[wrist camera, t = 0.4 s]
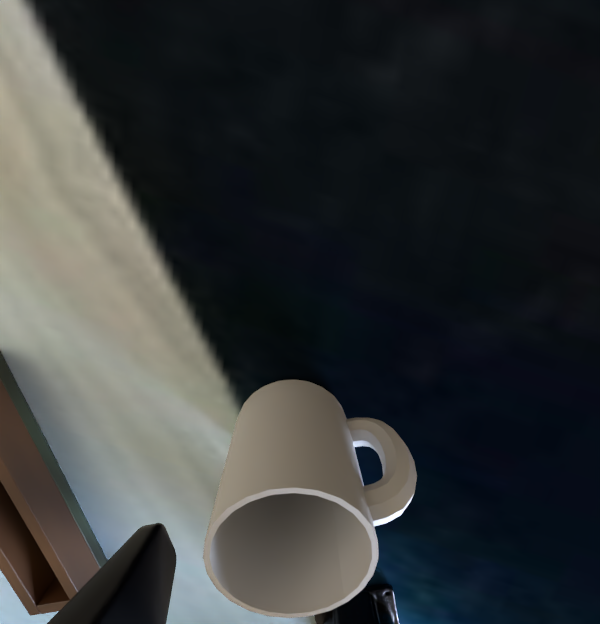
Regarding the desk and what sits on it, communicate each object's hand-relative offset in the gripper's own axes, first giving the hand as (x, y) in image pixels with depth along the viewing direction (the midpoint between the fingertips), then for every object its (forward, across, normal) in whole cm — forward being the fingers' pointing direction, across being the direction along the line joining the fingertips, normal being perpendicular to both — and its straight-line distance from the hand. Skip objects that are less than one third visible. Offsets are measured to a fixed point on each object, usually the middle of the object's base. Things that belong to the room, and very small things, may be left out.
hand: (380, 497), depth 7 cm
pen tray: (+14, +22, +7) cm, 27 cm away
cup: (+14, +2, +8) cm, 16 cm away
